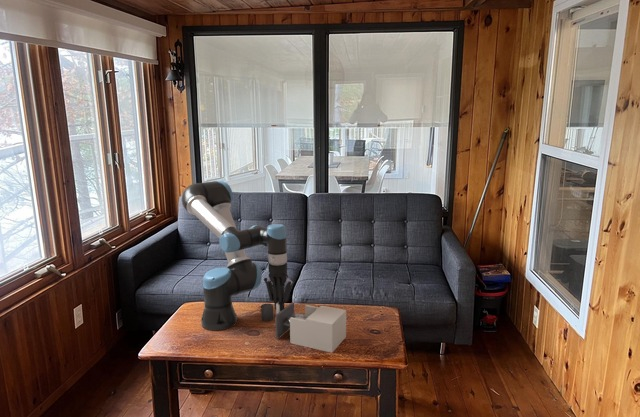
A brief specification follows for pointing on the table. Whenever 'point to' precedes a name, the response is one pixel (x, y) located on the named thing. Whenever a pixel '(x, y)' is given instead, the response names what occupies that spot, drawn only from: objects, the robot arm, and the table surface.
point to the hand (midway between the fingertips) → (279, 317)
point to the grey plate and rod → (283, 320)
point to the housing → (319, 328)
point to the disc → (298, 316)
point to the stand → (267, 312)
